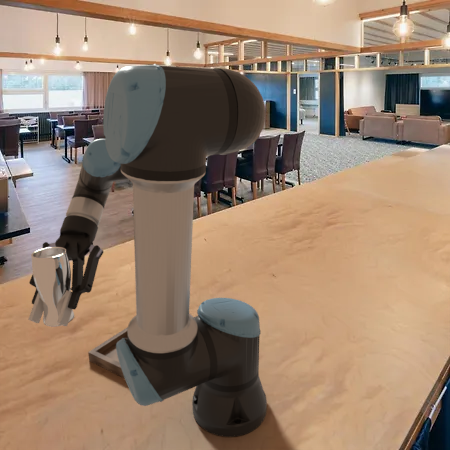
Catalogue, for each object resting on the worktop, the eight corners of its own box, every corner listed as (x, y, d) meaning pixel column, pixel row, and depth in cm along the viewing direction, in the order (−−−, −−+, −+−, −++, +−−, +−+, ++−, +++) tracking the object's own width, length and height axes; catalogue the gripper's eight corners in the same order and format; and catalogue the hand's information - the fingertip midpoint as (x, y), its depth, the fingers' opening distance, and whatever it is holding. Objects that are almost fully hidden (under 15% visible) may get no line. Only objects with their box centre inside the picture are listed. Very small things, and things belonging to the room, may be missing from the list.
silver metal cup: (65, 307, 87) (56, 244, 83) (83, 317, 83) (74, 251, 79) (34, 320, 82) (23, 253, 78) (51, 331, 78) (40, 261, 74)
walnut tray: (203, 345, 102) (203, 336, 101) (150, 391, 85) (150, 381, 85) (146, 323, 112) (145, 315, 111) (89, 361, 96) (88, 352, 95)
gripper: (126, 231, 91) (98, 331, 80) (53, 227, 95) (18, 323, 84) (113, 215, 84) (81, 322, 74) (36, 211, 88) (-5, 313, 77)
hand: (47, 322), depth 79 cm, fingers closed on silver metal cup, 6 cm apart
